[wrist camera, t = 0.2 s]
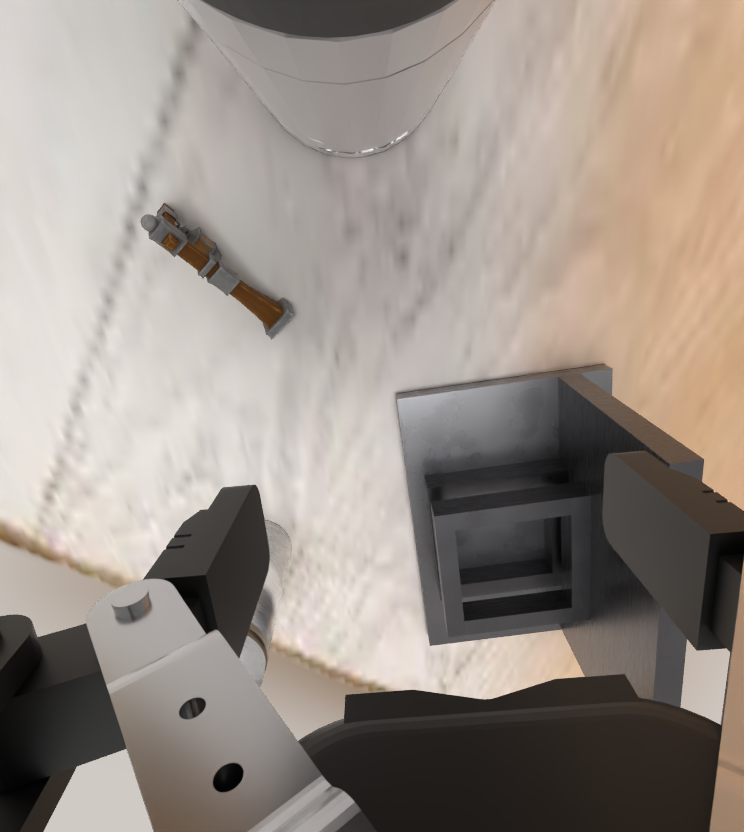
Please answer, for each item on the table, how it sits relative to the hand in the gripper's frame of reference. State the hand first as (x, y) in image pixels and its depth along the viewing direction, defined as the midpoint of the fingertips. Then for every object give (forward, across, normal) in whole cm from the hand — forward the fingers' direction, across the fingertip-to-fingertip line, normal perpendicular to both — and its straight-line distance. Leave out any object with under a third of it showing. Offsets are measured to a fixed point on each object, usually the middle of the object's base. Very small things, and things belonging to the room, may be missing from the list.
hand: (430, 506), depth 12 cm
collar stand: (+18, -5, +11) cm, 22 cm away
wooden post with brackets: (+18, +9, -6) cm, 20 cm away
